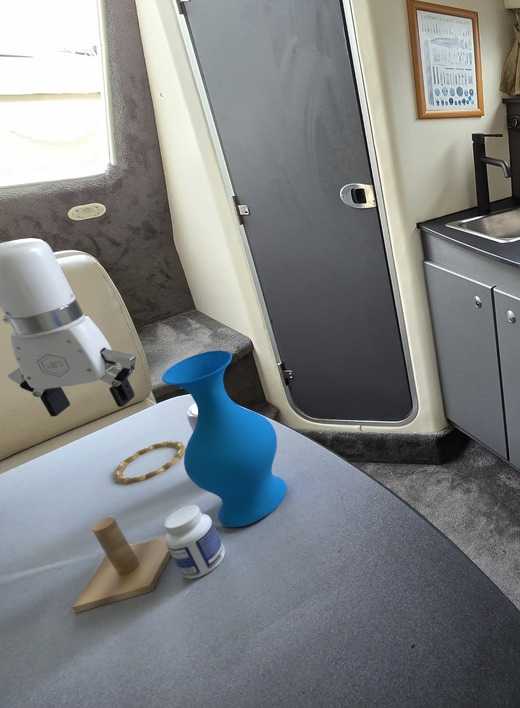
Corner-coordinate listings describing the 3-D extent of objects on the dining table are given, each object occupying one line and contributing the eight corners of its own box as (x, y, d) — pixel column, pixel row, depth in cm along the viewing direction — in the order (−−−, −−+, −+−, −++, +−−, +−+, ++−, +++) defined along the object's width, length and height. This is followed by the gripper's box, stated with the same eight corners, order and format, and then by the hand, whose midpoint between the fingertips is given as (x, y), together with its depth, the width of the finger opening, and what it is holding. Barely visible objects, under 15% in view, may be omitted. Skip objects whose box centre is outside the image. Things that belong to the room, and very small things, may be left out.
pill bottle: (222, 540, 78) (201, 494, 75) (229, 562, 75) (207, 515, 71) (180, 563, 75) (155, 516, 71) (184, 587, 71) (159, 539, 67)
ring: (103, 492, 88) (100, 487, 88) (133, 452, 98) (130, 448, 97) (172, 476, 91) (169, 471, 91) (195, 439, 100) (193, 434, 100)
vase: (301, 467, 92) (256, 337, 81) (284, 522, 81) (229, 380, 70) (227, 486, 89) (169, 353, 78) (198, 546, 77) (127, 400, 67)
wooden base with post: (75, 613, 68) (41, 562, 65) (111, 556, 76) (83, 508, 73) (153, 590, 71) (124, 540, 67) (180, 538, 79) (156, 490, 75)
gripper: (-42, 337, 72) (15, 430, 79) (93, 321, 75) (137, 412, 81) (4, 313, 79) (53, 400, 85) (126, 300, 82) (165, 385, 88)
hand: (94, 406), depth 83 cm, fingers open, 9 cm apart
